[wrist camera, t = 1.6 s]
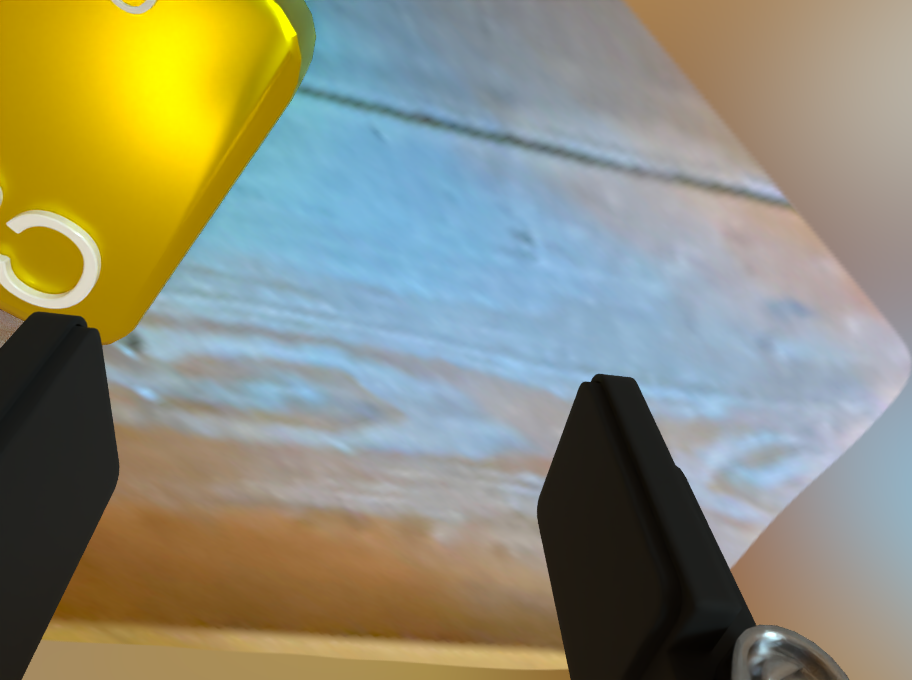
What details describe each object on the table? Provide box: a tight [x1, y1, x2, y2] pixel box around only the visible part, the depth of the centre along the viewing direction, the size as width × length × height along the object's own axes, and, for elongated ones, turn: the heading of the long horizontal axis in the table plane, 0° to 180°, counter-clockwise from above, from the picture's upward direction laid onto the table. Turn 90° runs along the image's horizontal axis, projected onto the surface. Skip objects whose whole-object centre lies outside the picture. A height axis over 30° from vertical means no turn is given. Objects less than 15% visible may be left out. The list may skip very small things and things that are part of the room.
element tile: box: [0, 0, 316, 345], centre depth 21 cm, size 15×15×5 cm
